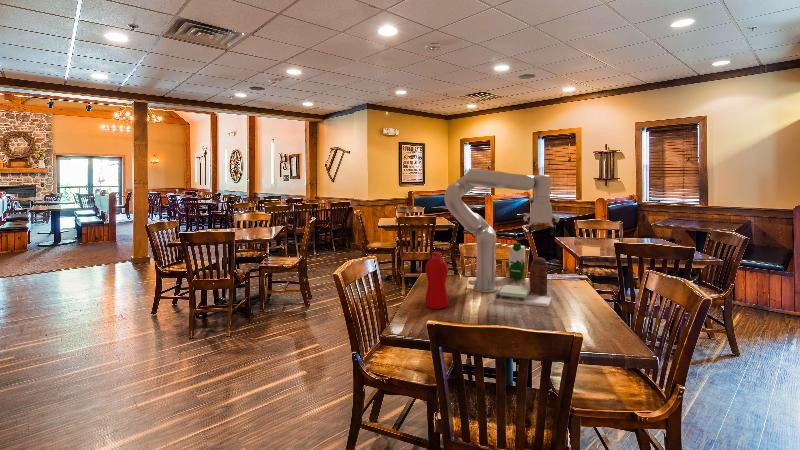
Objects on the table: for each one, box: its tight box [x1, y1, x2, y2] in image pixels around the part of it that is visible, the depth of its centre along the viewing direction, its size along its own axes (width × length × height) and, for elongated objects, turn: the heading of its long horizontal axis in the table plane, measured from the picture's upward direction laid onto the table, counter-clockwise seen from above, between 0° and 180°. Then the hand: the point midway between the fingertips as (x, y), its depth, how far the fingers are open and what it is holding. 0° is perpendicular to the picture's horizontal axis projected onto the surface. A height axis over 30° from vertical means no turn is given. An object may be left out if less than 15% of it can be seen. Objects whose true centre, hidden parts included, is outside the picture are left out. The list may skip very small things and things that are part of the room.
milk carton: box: [508, 242, 526, 279], centre depth 258 cm, size 9×9×20 cm
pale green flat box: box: [499, 284, 531, 300], centre depth 213 cm, size 12×14×3 cm
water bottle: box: [424, 251, 449, 310], centre depth 201 cm, size 9×11×25 cm
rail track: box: [494, 287, 552, 308], centre depth 212 cm, size 24×13×3 cm, turn 66°
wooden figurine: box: [529, 256, 548, 296], centre depth 224 cm, size 12×6×18 cm, turn 18°
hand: (540, 234), depth 222 cm, fingers open, 9 cm apart
